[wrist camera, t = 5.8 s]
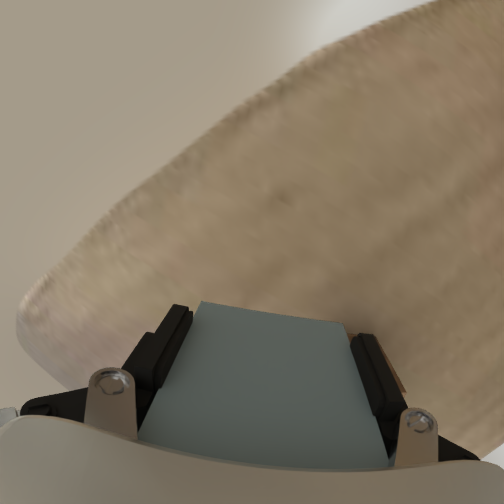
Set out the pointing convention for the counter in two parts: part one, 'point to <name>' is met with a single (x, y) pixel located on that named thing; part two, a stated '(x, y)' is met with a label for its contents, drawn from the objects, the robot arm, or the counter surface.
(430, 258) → the counter surface
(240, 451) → the domino
